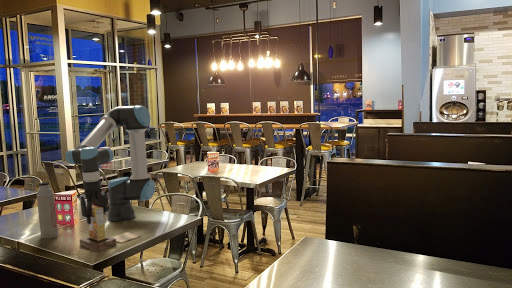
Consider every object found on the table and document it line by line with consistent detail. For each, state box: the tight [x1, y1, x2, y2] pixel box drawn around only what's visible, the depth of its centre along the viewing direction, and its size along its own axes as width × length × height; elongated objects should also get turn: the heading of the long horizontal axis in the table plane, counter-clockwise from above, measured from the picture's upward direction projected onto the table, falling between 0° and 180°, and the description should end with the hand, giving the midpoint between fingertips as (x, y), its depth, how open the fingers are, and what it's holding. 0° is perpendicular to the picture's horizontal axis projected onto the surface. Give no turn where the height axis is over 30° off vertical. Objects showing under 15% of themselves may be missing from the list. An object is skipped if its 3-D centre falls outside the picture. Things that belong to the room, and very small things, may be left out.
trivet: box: [110, 231, 141, 244], centre depth 209 cm, size 11×11×1 cm
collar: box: [79, 235, 117, 253], centre depth 200 cm, size 10×15×3 cm, turn 51°
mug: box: [92, 188, 110, 209], centre depth 270 cm, size 12×14×15 cm
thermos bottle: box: [36, 181, 59, 239], centre depth 217 cm, size 8×8×28 cm
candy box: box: [86, 205, 107, 242], centre depth 200 cm, size 9×4×15 cm, turn 50°
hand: (96, 228), depth 200 cm, fingers closed on candy box, 4 cm apart
